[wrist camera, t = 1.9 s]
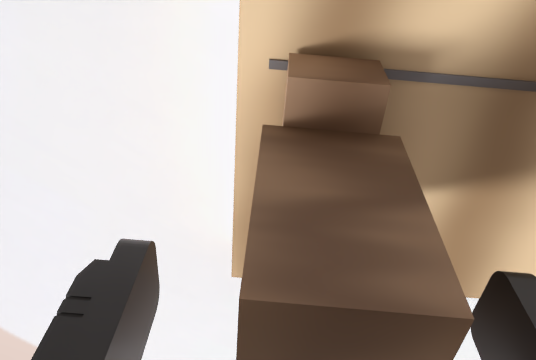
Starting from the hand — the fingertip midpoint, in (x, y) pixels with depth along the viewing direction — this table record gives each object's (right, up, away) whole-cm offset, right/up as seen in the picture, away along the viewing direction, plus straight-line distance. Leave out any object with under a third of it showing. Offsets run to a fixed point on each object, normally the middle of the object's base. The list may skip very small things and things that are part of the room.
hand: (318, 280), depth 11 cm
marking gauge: (0, +2, +9) cm, 9 cm away
